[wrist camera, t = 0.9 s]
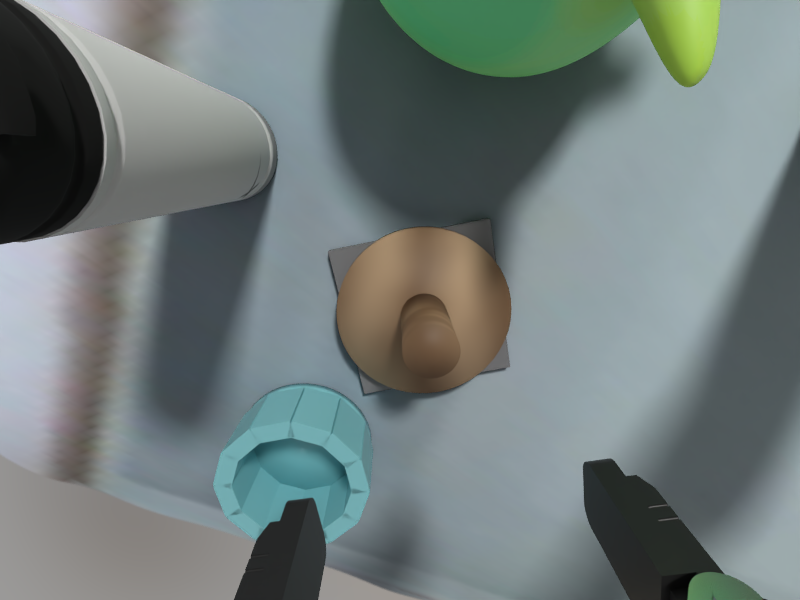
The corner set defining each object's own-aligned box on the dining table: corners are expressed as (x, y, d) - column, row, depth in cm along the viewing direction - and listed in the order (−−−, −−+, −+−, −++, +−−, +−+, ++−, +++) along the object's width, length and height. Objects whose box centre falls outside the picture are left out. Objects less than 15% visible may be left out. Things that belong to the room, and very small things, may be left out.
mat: (488, 217, 28) (490, 218, 27) (507, 363, 31) (510, 366, 31) (329, 250, 28) (328, 251, 28) (365, 389, 32) (364, 394, 31)
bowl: (355, 372, 31) (347, 410, 26) (383, 481, 34) (381, 534, 29) (225, 397, 32) (193, 438, 27) (264, 502, 35) (242, 557, 30)
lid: (496, 209, 27) (528, 222, 21) (517, 371, 31) (550, 425, 24) (318, 246, 28) (296, 269, 21) (359, 400, 31) (350, 461, 25)
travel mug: (291, 195, 27) (53, 254, 8) (192, 204, 27) (-269, 282, 8) (274, 91, 26) (-80, -142, 6) (168, 101, 26) (-493, -101, 7)
